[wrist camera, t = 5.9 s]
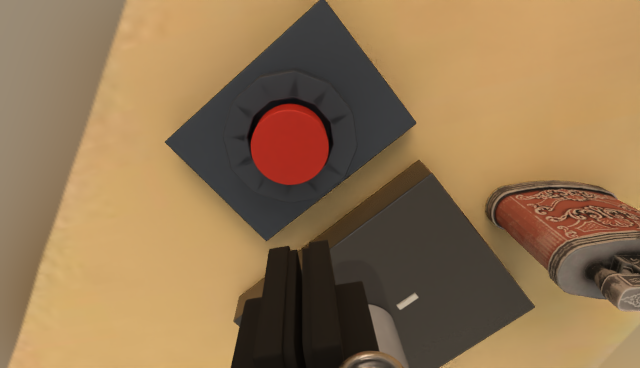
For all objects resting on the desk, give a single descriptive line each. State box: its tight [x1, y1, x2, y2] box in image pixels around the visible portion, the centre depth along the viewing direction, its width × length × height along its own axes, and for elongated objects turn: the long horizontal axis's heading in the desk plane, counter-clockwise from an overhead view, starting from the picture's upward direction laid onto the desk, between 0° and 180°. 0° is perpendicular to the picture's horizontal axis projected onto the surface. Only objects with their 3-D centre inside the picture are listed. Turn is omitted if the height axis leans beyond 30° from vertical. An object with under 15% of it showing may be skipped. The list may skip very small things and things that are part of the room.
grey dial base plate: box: [234, 160, 535, 368], centre depth 26 cm, size 15×12×3 cm
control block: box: [165, 0, 416, 241], centre depth 21 cm, size 11×8×4 cm
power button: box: [251, 104, 329, 185], centre depth 19 cm, size 4×4×2 cm
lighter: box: [486, 180, 640, 311], centre depth 20 cm, size 8×3×10 cm, turn 89°
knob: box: [368, 304, 410, 368], centre depth 22 cm, size 4×4×5 cm
